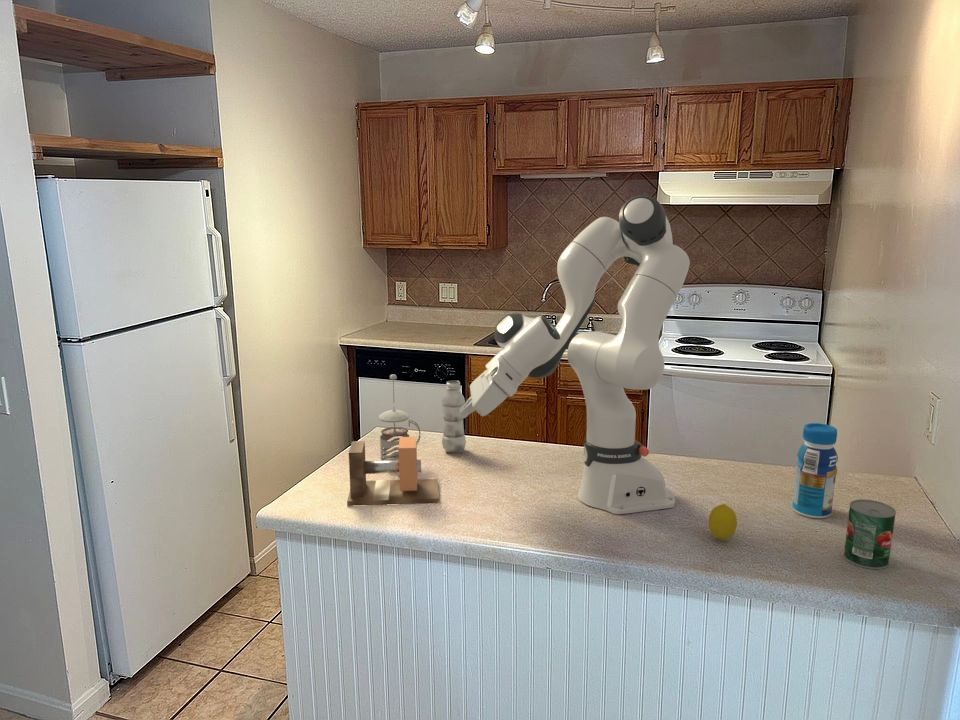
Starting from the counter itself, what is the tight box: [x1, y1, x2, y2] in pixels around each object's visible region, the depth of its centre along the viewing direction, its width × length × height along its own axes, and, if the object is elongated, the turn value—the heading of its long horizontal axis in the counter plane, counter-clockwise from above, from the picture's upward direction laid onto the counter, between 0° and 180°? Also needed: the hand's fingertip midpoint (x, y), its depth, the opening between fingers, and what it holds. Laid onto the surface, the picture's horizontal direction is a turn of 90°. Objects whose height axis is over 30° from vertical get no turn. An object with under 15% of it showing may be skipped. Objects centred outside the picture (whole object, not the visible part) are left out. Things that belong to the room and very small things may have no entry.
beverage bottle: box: [791, 422, 839, 519], centre depth 159 cm, size 8×8×20 cm
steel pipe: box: [364, 459, 422, 475], centre depth 169 cm, size 15×3×3 cm, turn 94°
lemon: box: [708, 503, 738, 541], centre depth 147 cm, size 6×6×8 cm
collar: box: [398, 436, 418, 491], centre depth 169 cm, size 4×8×10 cm, turn 4°
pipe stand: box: [346, 440, 440, 507], centre depth 169 cm, size 21×12×12 cm, turn 94°
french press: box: [378, 374, 421, 461], centre depth 187 cm, size 10×12×25 cm
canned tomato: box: [843, 498, 897, 570], centre depth 139 cm, size 8×8×11 cm
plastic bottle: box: [441, 380, 467, 453], centre depth 198 cm, size 6×7×20 cm
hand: (461, 414), depth 169 cm, fingers closed
